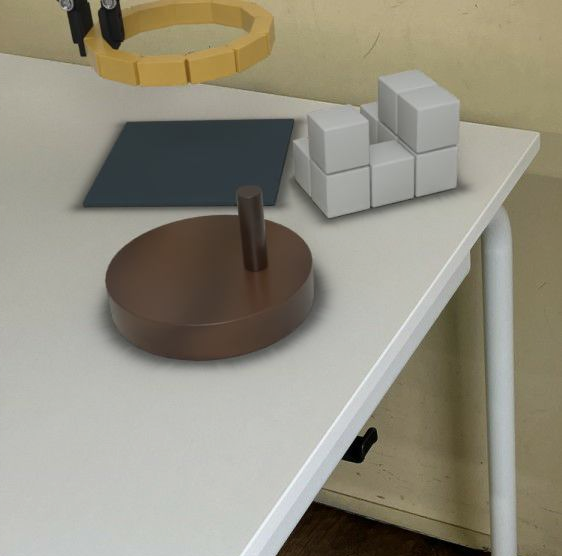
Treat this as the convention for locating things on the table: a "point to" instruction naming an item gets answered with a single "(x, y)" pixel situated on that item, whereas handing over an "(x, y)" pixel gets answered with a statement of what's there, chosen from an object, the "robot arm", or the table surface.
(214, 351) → the peg stand
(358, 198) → the puzzle cube
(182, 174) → the mat
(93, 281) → the table surface
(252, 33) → the ring
